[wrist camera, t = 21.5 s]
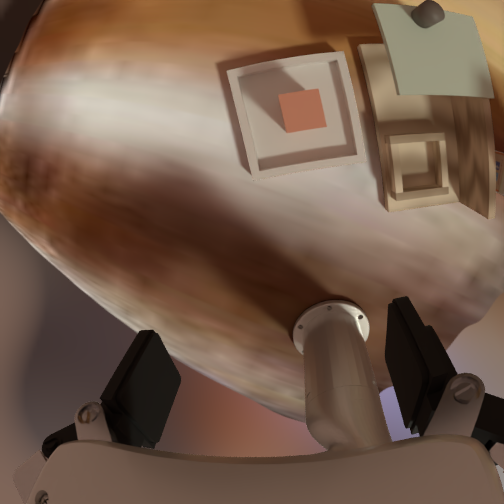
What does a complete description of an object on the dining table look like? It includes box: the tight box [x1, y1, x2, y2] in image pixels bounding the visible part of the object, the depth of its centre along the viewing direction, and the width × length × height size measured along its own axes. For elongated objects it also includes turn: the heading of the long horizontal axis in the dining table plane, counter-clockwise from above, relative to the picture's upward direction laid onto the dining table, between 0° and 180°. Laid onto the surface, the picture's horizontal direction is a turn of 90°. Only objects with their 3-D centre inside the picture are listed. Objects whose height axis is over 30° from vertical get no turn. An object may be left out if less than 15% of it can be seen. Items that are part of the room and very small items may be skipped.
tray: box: [227, 51, 366, 181], centre depth 31 cm, size 14×14×2 cm
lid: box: [372, 0, 494, 98], centre depth 17 cm, size 10×13×4 cm
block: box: [278, 89, 327, 133], centre depth 28 cm, size 4×4×7 cm
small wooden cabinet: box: [357, 44, 496, 219], centre depth 26 cm, size 22×13×9 cm, turn 13°
